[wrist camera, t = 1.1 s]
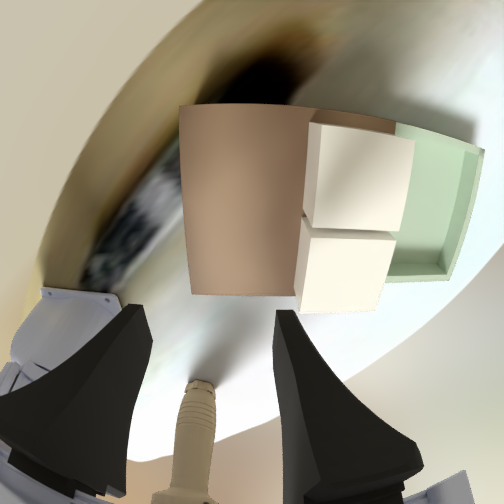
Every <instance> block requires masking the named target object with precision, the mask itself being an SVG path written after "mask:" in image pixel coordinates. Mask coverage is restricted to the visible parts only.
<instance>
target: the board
mask: <svg viewBox="0 0 504 504" xmlns="http://www.w3.org/2000/svg"><path fill="white" fill-rule="evenodd" d="M309 122H314V123H324V124H333V125H340V126H348V127H354V128H361V129H367V130H373V131H378V132H384V133H389V134H393V135H395V129H396V121H392V120H388V119H383V118H378V117H373V116H368V115H362V114H356V113H350V112H344V111H337V110H329V109H321V108H312V107H302V106H289V105H273V104H201V105H184V106H179V141H180V166H181V185H182V200H183V214H184V226H185V237H186V248H187V257H188V267H189V275H190V284H191V292H192V294H198V295H230V296H296V295H295V290H294V280H295V273H296V264H297V256H298V247H299V238H300V229H301V219H302V217H307V216H306V214H305V212H304V210H303V199H304V187H305V175H306V163H307V149H308V133H309Z"/></svg>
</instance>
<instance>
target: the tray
mask: <svg viewBox="0 0 504 504" xmlns="http://www.w3.org/2000/svg"><path fill="white" fill-rule="evenodd" d="M395 135H397V136H401V137H404V138H408V139H411V140H415V149H414V156H413V163H412V170H411V176H410V182H409V187H408V193H407V198H406V203H405V207H404V212H403V216H402V221H401V225H400V229H399V231H388V232H389V233H390V234H391V235H392V236H393V237H394V238H395V239H396V245H395V249H394V252H393V256H392V259H391V263H390V266H389V270H388V273H387V276H386V279H385V283H402V282H428V281H449V280H450V277H451V275H452V272H453V270H454V267H455V264H456V262H457V259H458V256H459V253H460V251H461V248H462V245H463V242H464V238H465V235H466V232H467V229H468V225H469V222H470V218H471V215H472V211H473V207H474V203H475V199H476V194H477V190H478V185H479V180H480V175H481V170H482V164H483V158H484V151H485V149H482V148H480V147H477V146H475V145H472V144H469V143H466V142H464V141H461V140H458V139H455V138H452V137H449V136H446V135H442V134H439V133H436V132H432V131H429V130H425V129H422V128H418V127H414V126H410V125H406V124H402V123H398V122H396V129H395Z"/></svg>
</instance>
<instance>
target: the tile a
mask: <svg viewBox="0 0 504 504" xmlns="http://www.w3.org/2000/svg"><path fill="white" fill-rule="evenodd" d="M395 245H396V239H395V238H394V237H393V236H392V235H391V234H390V233H389V232H388V231H381V230H360V229H337V228H312V226H311V224H310V222H309V220H308V218H307V217H302V219H301V229H300V238H299V247H298V256H297V264H296V273H295V280H294V290H295V295H296V299H297V304H298V309H299V314H315V313H345V312H366V311H375V309H376V306H377V303H378V301H379V298H380V295H381V292H382V289H383V286H384V283H385V279H386V276H387V273H388V270H389V266H390V263H391V259H392V256H393V252H394V249H395Z"/></svg>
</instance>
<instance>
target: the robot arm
mask: <svg viewBox="0 0 504 504" xmlns="http://www.w3.org/2000/svg"><path fill="white" fill-rule="evenodd" d="M40 292H41V295H42V299H41V300H40V301H39V302H38V304H37V305H36V306H35V307H34V309H33V310H32V311H31V313H30V314H29V315H28V317H27V318H26V319H25V321H24V322H23V323H22V325H21V326H20V328H19V329H18V330H17V332H16V334H15V336H14V338H13V340H12V344H11V353H10V354H11V362H7V363H6V364H5V366H4V367H3V369H2V371H1V372H0V504H113V503H109V502H107V501H104V500H101V499H98V498H96V494H98V495H101V496H105V494H108V495H111V496H114V497H117V498H121V497H123V496H125V495H126V460H127V448H128V439H129V431H130V425H131V419H132V414H133V410H134V406H135V403H136V400H137V397H138V394H139V390H140V387H141V384H142V381H143V378H144V375H145V372H146V369H147V366H148V363H149V358H150V354H151V348H152V343H153V339H152V336H151V333H150V329H149V326H148V323H147V319H146V316H145V312H144V308H143V305H139V304H128V305H127V306H126V307H125V308H124V309H121V306H120V302H119V299H118V297H117V296H116V295H114V294H108V293H97V292H86V291H76V290H67V289H58V288H50V287H42V288H41V289H40ZM107 298H108V299H109V300H108V299H107ZM272 349H273V371H274V377H275V384H276V390H277V397H278V403H279V410H280V416H281V425H282V446H283V504H475V503H474V499H473V495H472V492H471V488H470V484H469V481H468V477H467V474H466V471H465V470H462V471H460V472H459V473H457V474H455V475H453V476H451V477H449V478H447V479H445V480H443V481H441V482H439V483H437V484H435V485H433V486H431V487H429V488H427V489H426V490H424V491H421V492H419V493H417V494H414V495H411V496H409V497H406V498H402V493H401V492H402V491H404V490H405V487H404V482H403V481H405V480H407V479H408V478H410V477H412V476H414V475H415V474H417V473H418V472H420V471H421V470H422V469H423V467H424V464H423V461H422V457H421V454H420V451H419V449H418V447H417V445H416V442H414V441H413V440H411V439H409V438H408V437H406V436H404V435H403V434H401V433H400V432H398V431H397V430H395V429H394V428H392V427H391V426H390V425H388V424H387V423H385V422H384V421H383V420H382V419H380V418H379V417H378V416H376V415H375V414H374V413H373V412H372V411H371V410H370V409H369V408H367V407H366V406H365V405H364V404H363V403H361V401H360V400H358V399H357V398H356V397H355V396H354V395H353V394H352V393H351V392H350V390H349V389H348V388H347V387H346V386H345V385H344V384H343V383H342V382H341V381H340V379H339V378H338V377H337V376H336V375H335V374H334V372H333V371H332V370H331V368H330V367H329V366H328V365H327V363H326V362H325V361H324V359H323V358H322V356H321V355H320V354H319V352H318V351H317V349H316V348H315V346H314V345H313V343H312V342H311V340H310V338H309V337H308V335H307V334H306V332H305V330H304V328H303V327H302V325H301V323H300V321H299V319H298V317H297V315H296V313H295V312H294V311H293V310H276V318H275V327H274V336H273V345H272Z"/></svg>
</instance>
